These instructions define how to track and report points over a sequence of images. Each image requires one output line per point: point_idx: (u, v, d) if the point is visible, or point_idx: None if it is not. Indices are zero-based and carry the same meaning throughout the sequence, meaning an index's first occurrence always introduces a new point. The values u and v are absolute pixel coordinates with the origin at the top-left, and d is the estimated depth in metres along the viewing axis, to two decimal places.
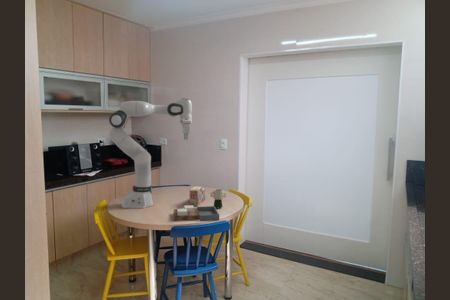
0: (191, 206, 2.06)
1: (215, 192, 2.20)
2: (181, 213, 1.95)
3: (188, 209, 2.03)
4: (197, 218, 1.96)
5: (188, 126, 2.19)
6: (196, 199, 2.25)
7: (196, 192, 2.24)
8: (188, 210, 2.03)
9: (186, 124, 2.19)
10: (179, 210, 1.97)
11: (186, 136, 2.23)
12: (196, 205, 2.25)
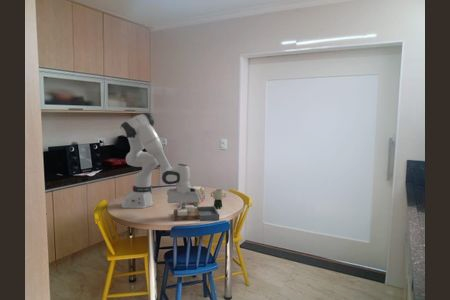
0: (192, 206, 2.06)
1: (215, 192, 2.20)
2: (181, 213, 1.95)
3: (189, 209, 2.03)
4: (197, 218, 1.96)
5: None
6: None
7: None
8: (189, 210, 2.03)
9: (196, 191, 2.05)
10: (179, 210, 1.97)
11: None
12: (196, 205, 2.26)
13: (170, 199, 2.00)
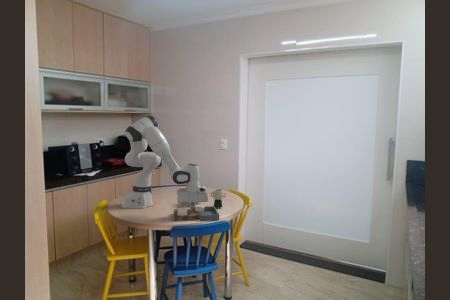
0: (201, 206, 2.08)
1: (215, 192, 2.20)
2: (181, 213, 1.95)
3: (198, 209, 2.04)
4: (197, 218, 1.96)
5: None
6: None
7: None
8: (198, 210, 2.04)
9: None
10: (179, 210, 1.97)
11: None
12: None
13: (179, 198, 2.02)
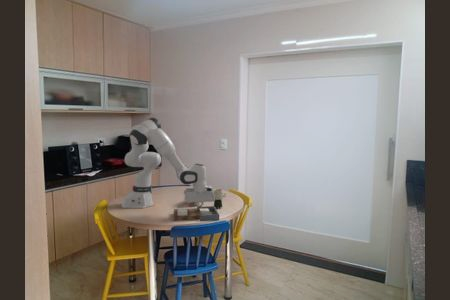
0: (206, 209, 2.09)
1: (215, 192, 2.20)
2: (181, 213, 1.95)
3: (203, 212, 2.05)
4: (197, 218, 1.96)
5: None
6: None
7: None
8: (203, 213, 2.05)
9: (212, 191, 2.07)
10: (179, 210, 1.97)
11: None
12: (196, 205, 2.26)
13: (186, 198, 2.03)
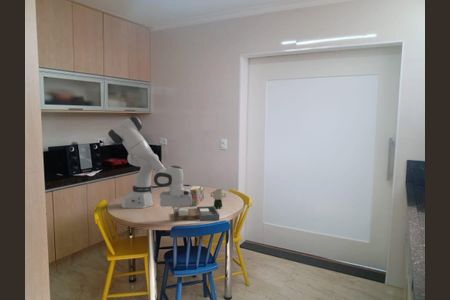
0: (206, 209, 2.09)
1: (215, 192, 2.20)
2: (182, 213, 1.95)
3: (203, 212, 2.05)
4: (197, 218, 1.96)
5: None
6: (195, 198, 2.26)
7: (195, 191, 2.26)
8: (203, 213, 2.05)
9: (190, 194, 1.97)
10: (180, 210, 1.97)
11: None
12: (195, 204, 2.27)
13: (162, 202, 1.93)
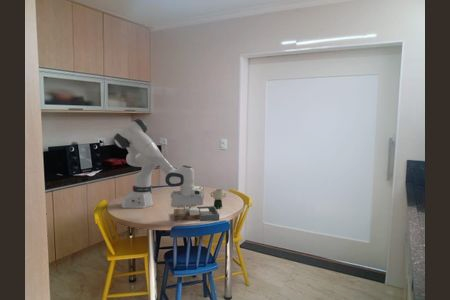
0: (206, 209, 2.09)
1: (215, 192, 2.20)
2: (193, 213, 1.96)
3: (203, 212, 2.05)
4: (197, 218, 1.96)
5: None
6: None
7: None
8: (203, 213, 2.05)
9: None
10: (191, 210, 1.98)
11: None
12: None
13: (173, 202, 1.94)
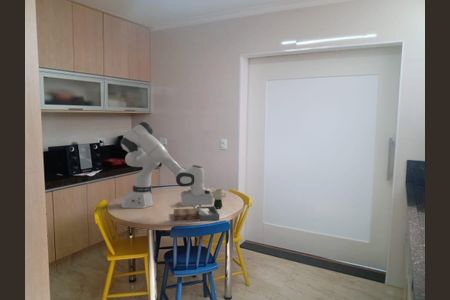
0: (206, 209, 2.09)
1: (215, 192, 2.20)
2: (203, 214, 1.97)
3: None
4: (197, 218, 1.96)
5: None
6: None
7: None
8: None
9: None
10: (202, 210, 2.00)
11: None
12: None
13: (184, 201, 1.95)
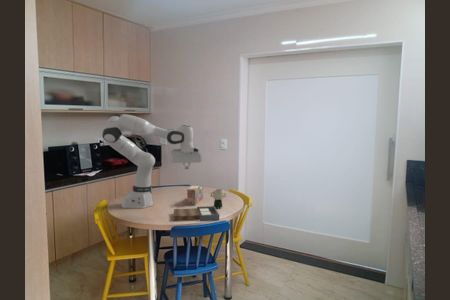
0: (206, 209, 2.09)
1: (215, 192, 2.20)
2: None
3: None
4: (197, 218, 1.96)
5: None
6: (194, 198, 2.27)
7: (194, 191, 2.27)
8: None
9: (199, 152, 2.13)
10: (203, 213, 2.00)
11: (189, 164, 2.13)
12: (194, 204, 2.28)
13: (174, 158, 2.09)
